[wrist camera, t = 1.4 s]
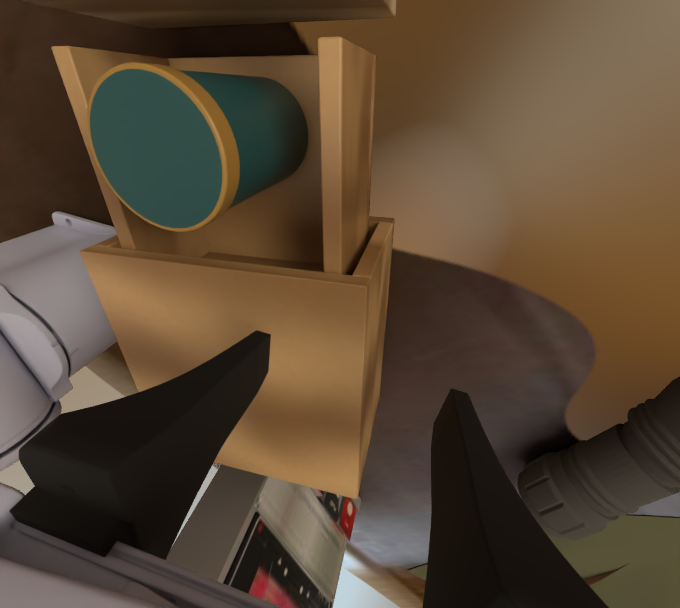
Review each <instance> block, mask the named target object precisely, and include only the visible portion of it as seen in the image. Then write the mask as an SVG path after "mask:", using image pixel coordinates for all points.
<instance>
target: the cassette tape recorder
mask: <svg viewBox="0 0 680 608" xmlns="http://www.w3.org/2000/svg"><path fill="white" fill-rule="evenodd" d="M361 501H362V500H361V499H360V497H359V495H358V498H357V499H353V498H349V497H345V496H342V495H338V494H334V493H330V492H326V491H322V490H318V489H314V488H311V487H307V486H303V485H299V484H295V483H291V482H287V481H284V480H280V479H276V478H272V477H268V476H264V475H260V474H256V473H253V472H249V471H245V470H241V469H237V468H233V467H229V466H225V465H222V464H221V466H220V468H219V469H218V471H217V473H216V474H215V476H214V478H213V479H212V481H211V483H210V485H209V486H208V488H207V490H206V491H205V493H204V494H203V496H202V498H201V500H200V501H199V503H198V504H197V506H196V508H195V510H194V511H193V513H192V515H191V517H190V518H189V519H188V521H187V523H186V524H185V526H184V528H183V529H182V531H181V533H180V535H179V536H178V538H177V540H176V541H175V543H174V544H173V546H172V548H171V549H170V551H169V554H168V556H167V558H166V561H168V562H171V563H173V564H176V565H178V566H181V567H183V568H186V569H188V570H191V571H193V572H196V573H198V574H201V575H203V576H206V577H208V578H211V579H213V580H216V581H218V582H220V583H223V584H225V585H228V586H230V587H233V588H235V589H238V590H240V591H243V592H245V593H248V594H250V595H253V596H255V597H258V598H260V599H263V600H265V601H268V602H270V603H273V604H275V605H277V606H280V607H282V608H332V607H333V603H334V598H335V593H336V588H337V584H338V580H339V575H340V570H341V566H342V561H343V557H344V552H345V547H346V543H347V538H348V540H349V541H350V538H351V533H352V528H353V523H354V519H355V514H356V511H360V506H361ZM175 608H179V607H177V606H175Z"/></svg>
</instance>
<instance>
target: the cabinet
mask: <svg viewBox="0 0 680 608" xmlns="http://www.w3.org/2000/svg"><path fill="white" fill-rule="evenodd" d="M393 231H394V218H384V217H370V216H369V229H368V245H367V247H366V249H365V251H364V253H363V255H362V257H361V259H360V261H359V263H358V265H357V267H356V269H355V271H354V273H353V275H352V276H351V275H343V274H334V273H326V272H317V271H309V270H300V269H291V268H283V267H274V266H266V265H257V264H249V263H240V262H232V261H223V260H215V259H206V258H197V257H189V256H180V255H172V254H163V253H155V252H146V251H138V250H129V249H122V247H121V244H120V241H119V238H118V236H117V235H116V236H113V237H111V238H109V239H107V240H104V241H102V242H100V243H97V244H95V245H92V246H90V247H88V248H85V249H83V250H81V251H80V254H81V257H82V259H83V262H84V264H85V266H86V269H87V271H88V273H89V276H90V278H91V280H92V283H93V285H94V287H95V290H96V292H97V295H98V297H99V299H100V302H101V304H102V306H103V309H104V311H105V313H106V316H107V318H108V320H109V323H110V325H111V328H112V330H113V332H114V335H115V337H116V339H117V342H118V344H119V346H120V349H121V351H122V353H123V356H124V358H125V361H126V363H127V365H128V368H129V370H130V372H131V375H132V377H133V379H134V382H135V384H136V386H137V389H138V391H139V392H141V391H144V390H146V389H149V388H152V387H154V386H157V385H159V384H162V383H164V382H167V381H169V380H171V379H173V378H176V377H178V376H180V375H182V374H184V373H186V372H188V371H190V370H192V369H194V368H195V367H197V366H199V365H201V364H203V363H205V362H206V361H208V360H210V359H212V358H213V357H215V356H217V355H218V354H220V353H222V352H223V351H225V350H226V349H228V348H230V347H231V346H233V345H234V344H236V343H237V342H239V341H241V340H242V339H244V338H245V337H247V336H248V335H250V334H251V333H253V332H254V331H256V330H258V331H261V332H264V333H268V334H271V341H270V357H269V371H268V373H267V376H266V378H265V380H264V382H263V384H262V386H261V388H260V389H259V391H258V393H257V395H256V396H255V398H254V399H253V401H252V402H251V404H250V405H249V407H248V408H247V410H246V411H245V413H244V414H243V416H242V417H241V419H240V420H239V422H238V423H237V425H236V426H235V428H234V429H233V431H232V432H231V434H230V435H229V437H228V438H227V440H226V441H225V443H224V445H223V446H222V448H221V450H220V451H219V453H218V455H217V457H216V459H215V461H214V463H218V464H222V465H225V466H229V467H233V468H237V469H241V470H245V471H249V472H253V473H256V474H260V475H264V476H268V477H272V478H276V479H280V480H284V481H287V482H291V483H295V484H299V485H303V486H307V487H311V488H314V489H318V490H322V491H326V492H330V493H334V494H338V495H342V496H345V497H349V498H353V499H357V498H358V494H359V489H360V484H361V480H362V475H363V470H364V466H365V461H366V456H367V452H368V447H369V442H370V438H371V433H372V428H373V424H374V419H375V415H376V410H377V405H378V401H379V396H380V385H381V373H382V361H383V349H384V337H385V326H386V314H387V302H388V290H389V278H390V267H391V255H392V243H393Z"/></svg>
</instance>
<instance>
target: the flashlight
mask: <svg viewBox="0 0 680 608" xmlns="http://www.w3.org/2000/svg"><path fill="white" fill-rule="evenodd" d="M518 489H519V492H520V495H521V498H522V500H523V502H524V504H525V505H526V507H527V508H528V509H529V511H530V512H531V514H532V515H533V517H534V518H535V519H536V521H537V522H538V523H539V525H540V526H541V527H542V528H543V529H544V530H545V531H546V532H547V533H549V534H550V535H552V536H554V537H556V538H560V539H564V538H568V539H571V540H579V539H581V538H584V537H587V536H590V535H593V534H596V533H599V532H600V531H602V530H604V529H605V528H606V526H607V523H608V522H611V521H614V520H616V519H618V518H619V516H626V515H627V514H628V513H634V512H636V511H637V510H638V509H639V507H640V506H643V505H646V504H649V503H651V502H654V501H657V500H659V499H662V498H665V497H667V496H670V495H673V494H676V493H678V492H679V491H680V377H678V378H676V379H675V380H673V381H672V382H671V383H670V384H669V385H668V386H667V387H666V388H665V389H664V390H663V391H662V392H661V393H660V394H659V395H658V396H657V397H656V398H655V399H648V400H646V401H645V403H641V404H639V405H638V406H637V407H636V408H632V409H630V410H629V412H628V422H626V423H624V424H617V425H615V426H613V427H611V428H610V429H608V430H606V431H604V432H602V433H600V434H598V435H596V436H594V437H593V438H591V439H589V440H587V441H586V440H583V441H579V442H578V443H577V444H575V445H572V446H570V448H569V449H568V448H566V449H563V450H561V451H559V452H558V453H556V452H548V453H546V454H544V455H542V456H541V457H539V458H537V459H535V460H533V461H531V462H530V463H528V464H526V465H525V467H524V471H522V472H521V473H520V474H519V477H518Z"/></svg>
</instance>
